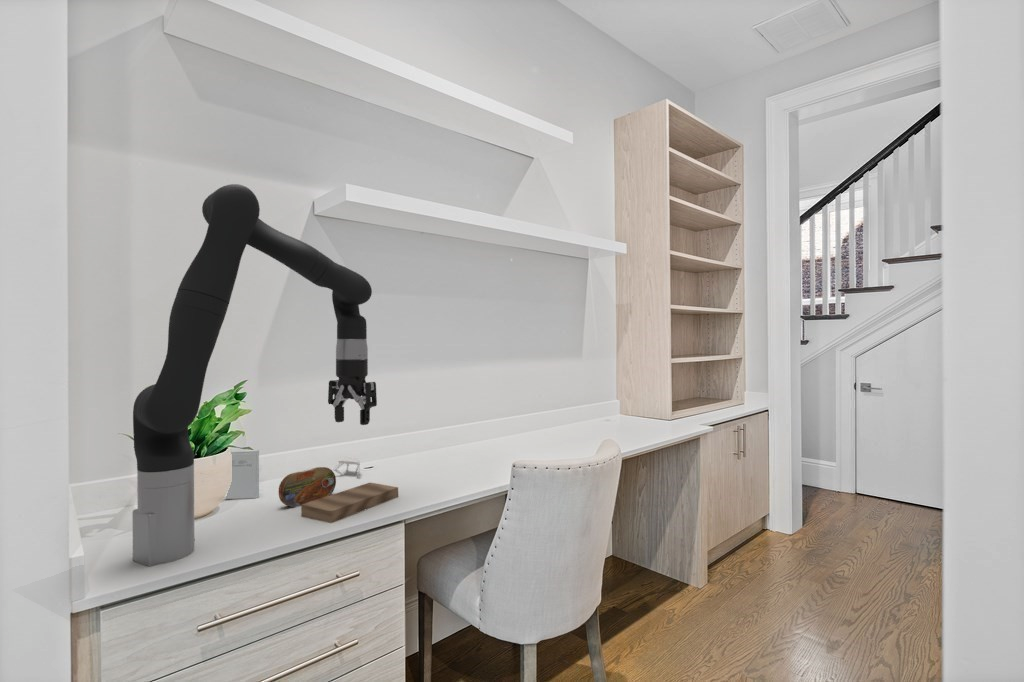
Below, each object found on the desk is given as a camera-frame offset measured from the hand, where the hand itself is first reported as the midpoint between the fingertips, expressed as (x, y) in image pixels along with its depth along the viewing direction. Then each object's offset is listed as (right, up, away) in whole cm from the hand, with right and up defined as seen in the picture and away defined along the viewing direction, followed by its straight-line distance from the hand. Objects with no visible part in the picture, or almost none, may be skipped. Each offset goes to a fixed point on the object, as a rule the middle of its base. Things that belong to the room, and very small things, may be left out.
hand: (351, 423), depth 131 cm
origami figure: (-10, -21, +31) cm, 39 cm away
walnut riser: (0, -21, 0) cm, 21 cm away
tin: (-13, -21, +5) cm, 25 cm away
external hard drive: (-32, -21, +9) cm, 39 cm away
